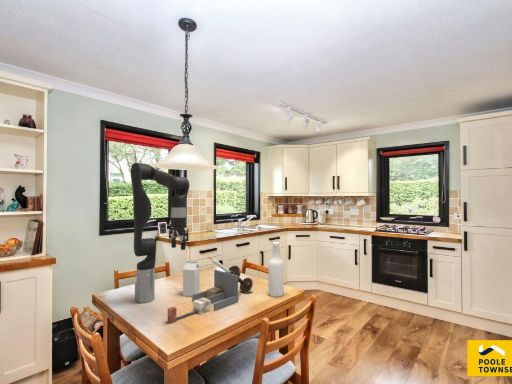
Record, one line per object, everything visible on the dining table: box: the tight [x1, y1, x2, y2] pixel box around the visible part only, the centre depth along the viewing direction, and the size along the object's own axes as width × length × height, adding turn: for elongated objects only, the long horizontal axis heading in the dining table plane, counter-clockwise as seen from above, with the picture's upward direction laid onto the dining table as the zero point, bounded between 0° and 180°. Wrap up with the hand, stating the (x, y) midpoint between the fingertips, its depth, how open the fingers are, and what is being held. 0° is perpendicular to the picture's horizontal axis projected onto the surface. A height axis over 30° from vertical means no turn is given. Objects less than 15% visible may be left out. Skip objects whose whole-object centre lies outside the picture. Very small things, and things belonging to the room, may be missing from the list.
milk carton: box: [182, 260, 201, 297], centre depth 161 cm, size 7×7×19 cm
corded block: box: [167, 298, 212, 324], centre depth 132 cm, size 21×6×6 cm, turn 138°
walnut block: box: [206, 286, 222, 298], centre depth 155 cm, size 6×6×5 cm
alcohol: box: [267, 241, 285, 298], centre depth 161 cm, size 9×9×30 cm
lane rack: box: [191, 269, 239, 312], centre depth 149 cm, size 16×19×14 cm
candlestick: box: [207, 256, 254, 294], centre depth 156 cm, size 11×11×35 cm
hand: (178, 248), depth 140 cm, fingers open, 8 cm apart
